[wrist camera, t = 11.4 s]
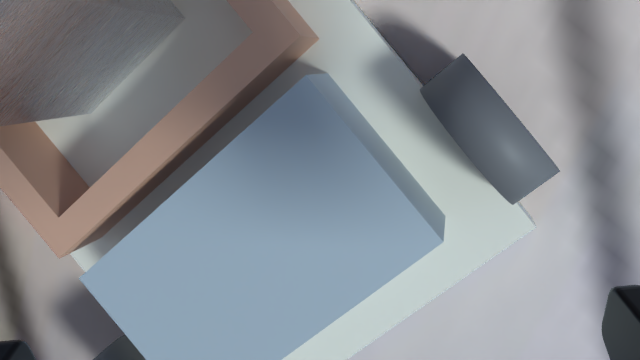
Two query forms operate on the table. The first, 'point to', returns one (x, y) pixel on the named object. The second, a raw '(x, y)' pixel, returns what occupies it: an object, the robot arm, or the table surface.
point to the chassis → (275, 185)
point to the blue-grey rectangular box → (73, 52)
